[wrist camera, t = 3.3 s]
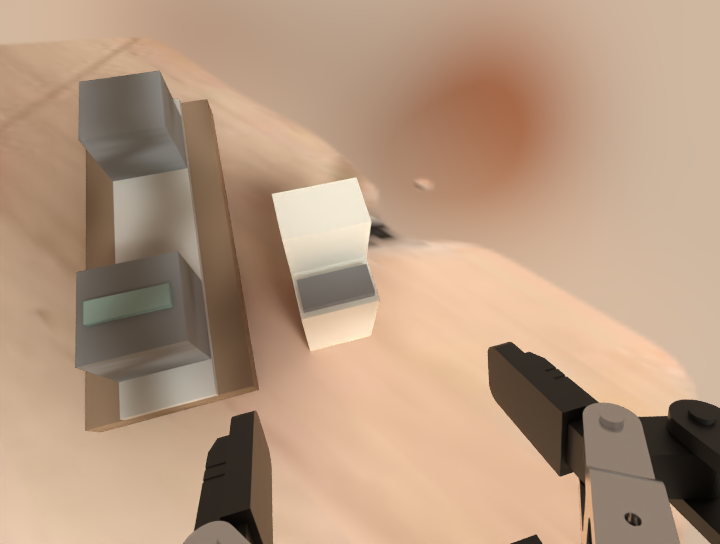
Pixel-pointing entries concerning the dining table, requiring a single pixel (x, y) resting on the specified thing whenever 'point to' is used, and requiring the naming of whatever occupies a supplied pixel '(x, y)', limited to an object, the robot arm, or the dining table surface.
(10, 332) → the dining table surface
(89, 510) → the dining table surface
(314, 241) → the block
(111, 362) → the rail plate
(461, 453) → the dining table surface
